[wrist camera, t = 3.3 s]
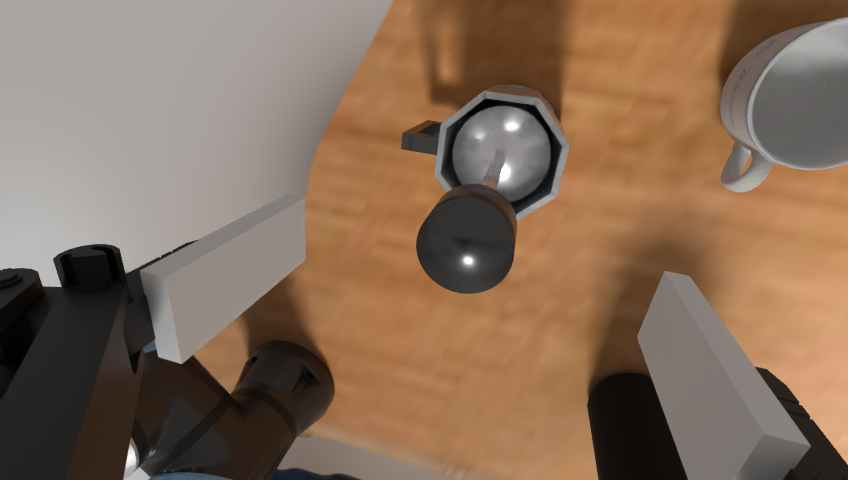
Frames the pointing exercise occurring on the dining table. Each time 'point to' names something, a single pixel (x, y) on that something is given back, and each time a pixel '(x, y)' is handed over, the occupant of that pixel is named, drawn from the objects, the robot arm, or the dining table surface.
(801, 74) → the teacup
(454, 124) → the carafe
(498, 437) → the dining table surface
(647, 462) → the coffee jar
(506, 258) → the plunger
